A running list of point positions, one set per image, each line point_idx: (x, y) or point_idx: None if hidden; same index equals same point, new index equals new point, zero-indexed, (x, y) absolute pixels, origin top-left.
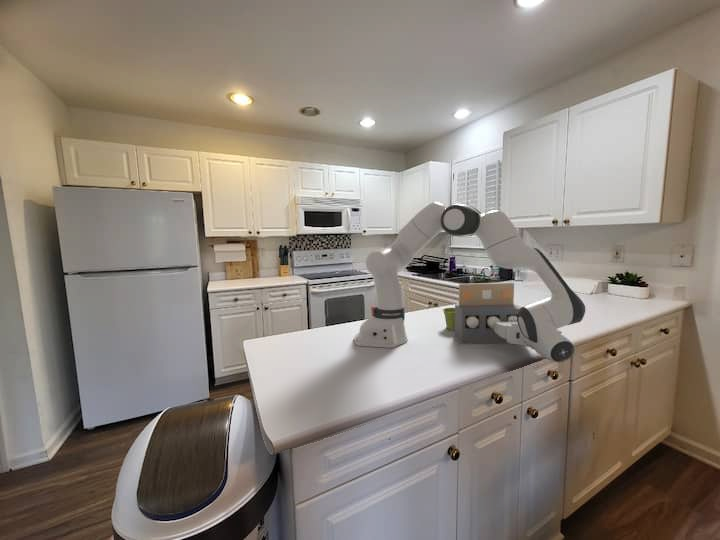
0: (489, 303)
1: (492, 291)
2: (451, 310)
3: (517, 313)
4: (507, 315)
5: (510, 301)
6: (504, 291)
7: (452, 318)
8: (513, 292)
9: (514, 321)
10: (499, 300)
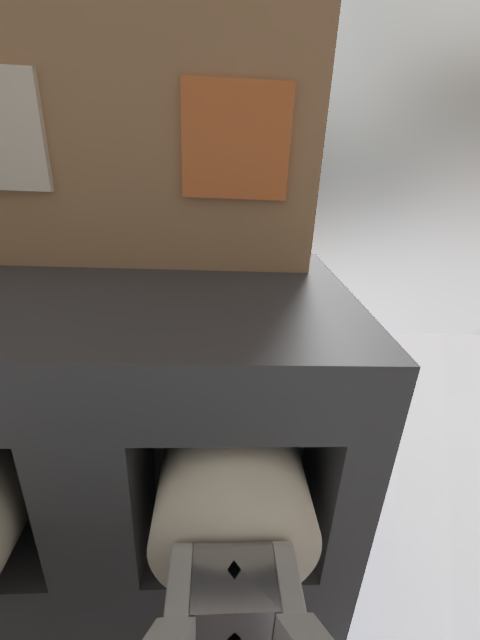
0: (47, 249)
1: (58, 92)
2: None
3: (295, 432)
4: None
5: (280, 237)
6: (209, 100)
7: None
8: (322, 126)
9: (190, 622)
10: (158, 219)
